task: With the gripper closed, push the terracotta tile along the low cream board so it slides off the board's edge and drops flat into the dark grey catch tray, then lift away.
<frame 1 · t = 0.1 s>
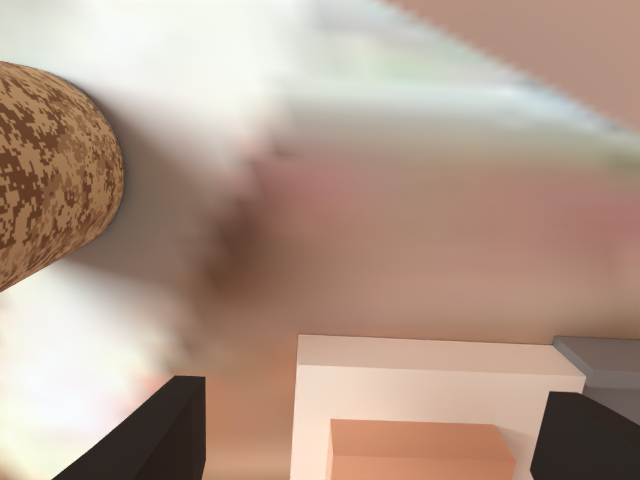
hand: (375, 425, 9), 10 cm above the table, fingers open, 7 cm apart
board: (413, 429, 21), on the table
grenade: (36, 164, 17), on the table
tile: (405, 469, 18), point 2 cm above the table, touching board
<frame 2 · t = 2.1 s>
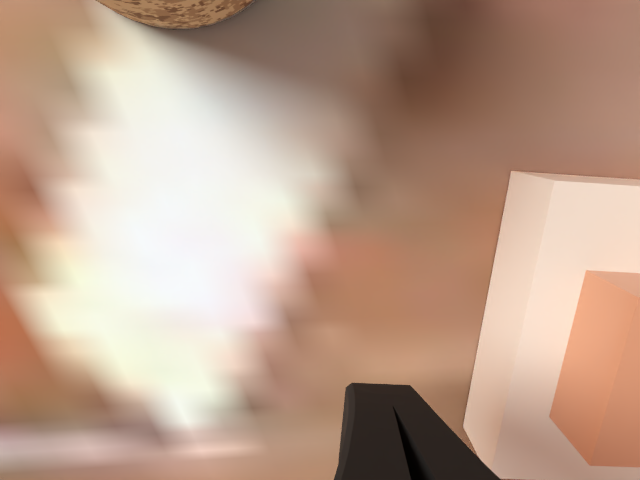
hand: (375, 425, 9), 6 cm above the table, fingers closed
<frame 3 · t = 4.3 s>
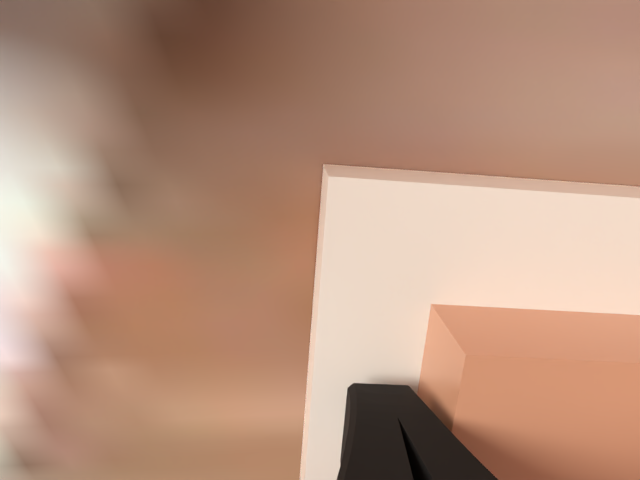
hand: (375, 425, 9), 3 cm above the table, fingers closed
board: (517, 354, 12), on the table
tile: (565, 411, 10), point 3 cm above the table, touching board, gripper
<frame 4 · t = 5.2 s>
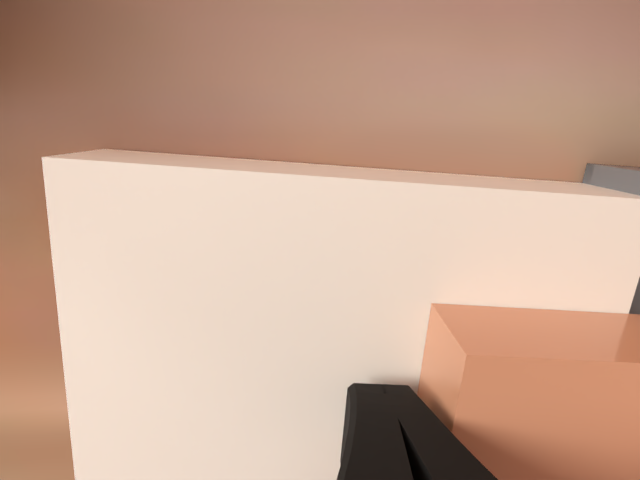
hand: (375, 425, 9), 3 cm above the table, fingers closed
board: (333, 345, 12), on the table
tile: (565, 411, 10), point 3 cm above the table, touching gripper
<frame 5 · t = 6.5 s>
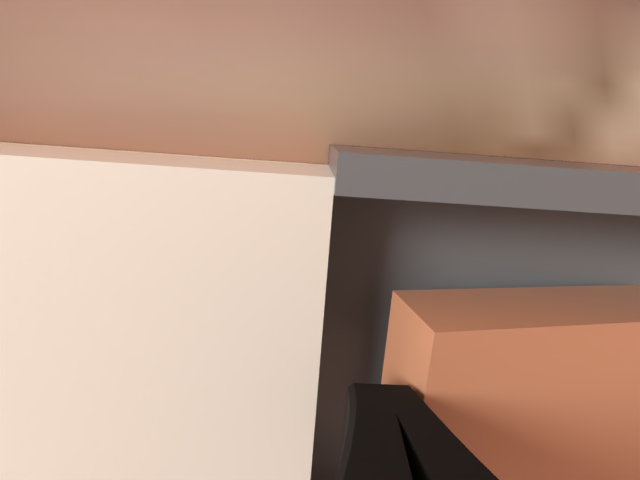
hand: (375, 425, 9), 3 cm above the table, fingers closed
tray: (522, 354, 12), on the table
board: (95, 333, 11), on the table
tile: (504, 375, 11), point 1 cm above the table, tilted 11°, touching gripper
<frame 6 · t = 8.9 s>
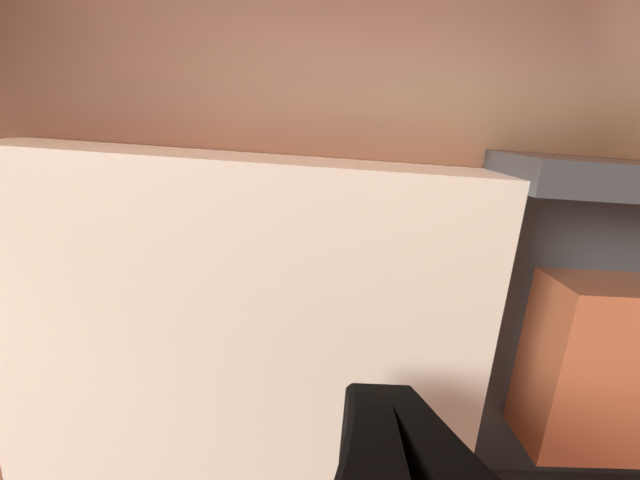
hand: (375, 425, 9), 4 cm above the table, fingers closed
board: (255, 324, 12), on the table
tile: (630, 350, 13), resting on tray
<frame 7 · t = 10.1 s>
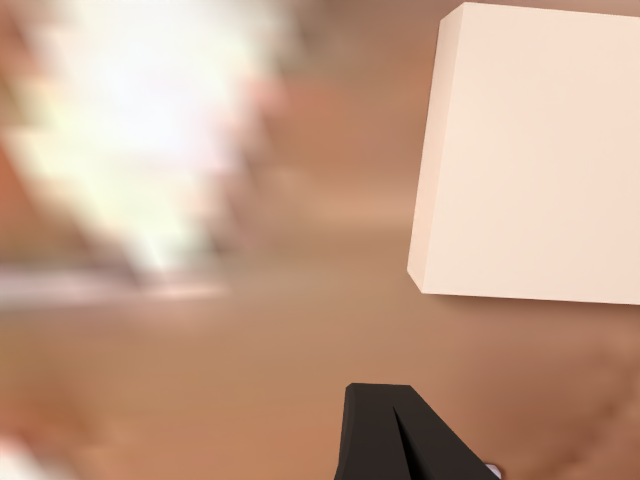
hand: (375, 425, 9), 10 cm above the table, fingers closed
board: (564, 165, 17), on the table
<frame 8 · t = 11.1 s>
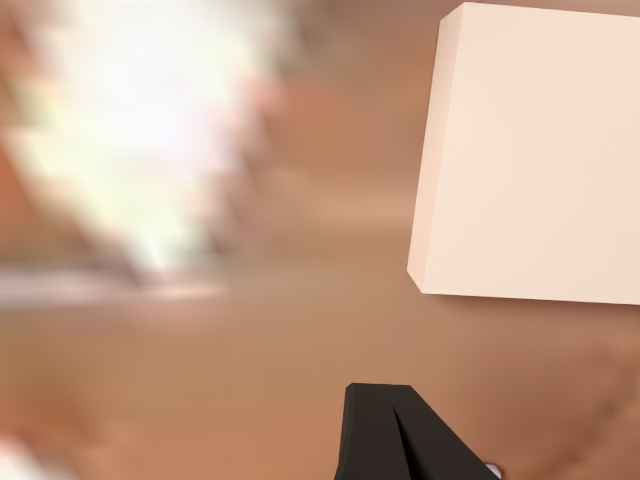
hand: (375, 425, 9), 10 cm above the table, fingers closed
board: (564, 165, 17), on the table
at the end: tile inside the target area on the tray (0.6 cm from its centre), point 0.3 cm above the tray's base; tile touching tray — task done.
